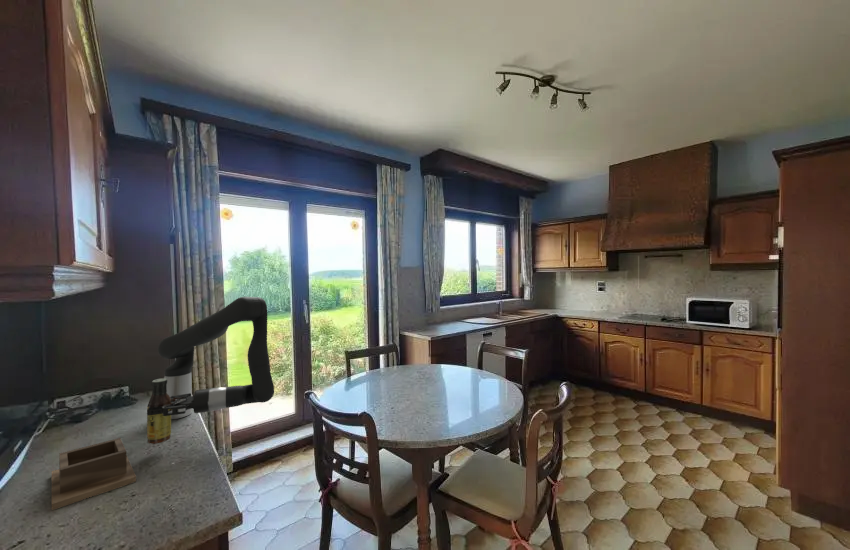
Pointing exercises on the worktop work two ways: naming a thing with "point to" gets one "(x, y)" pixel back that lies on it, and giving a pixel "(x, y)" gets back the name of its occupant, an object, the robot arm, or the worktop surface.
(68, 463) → the walnut caddy
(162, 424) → the sauce bottle
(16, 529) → the worktop surface
